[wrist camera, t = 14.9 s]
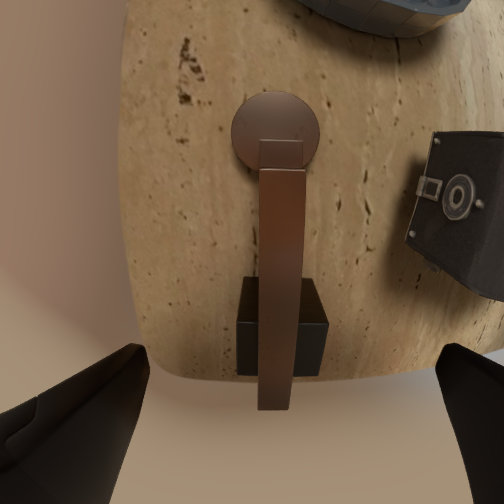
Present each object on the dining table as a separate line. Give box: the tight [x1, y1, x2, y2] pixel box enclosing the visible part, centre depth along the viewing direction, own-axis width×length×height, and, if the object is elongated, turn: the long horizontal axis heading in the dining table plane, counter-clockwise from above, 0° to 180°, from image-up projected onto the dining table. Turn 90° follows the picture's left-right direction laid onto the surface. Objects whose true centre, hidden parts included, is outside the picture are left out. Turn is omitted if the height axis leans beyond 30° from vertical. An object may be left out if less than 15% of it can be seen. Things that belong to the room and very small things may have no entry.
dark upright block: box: [236, 276, 329, 377], centre depth 18 cm, size 4×5×6 cm
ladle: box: [231, 91, 320, 410], centre depth 15 cm, size 18×5×8 cm, turn 0°
